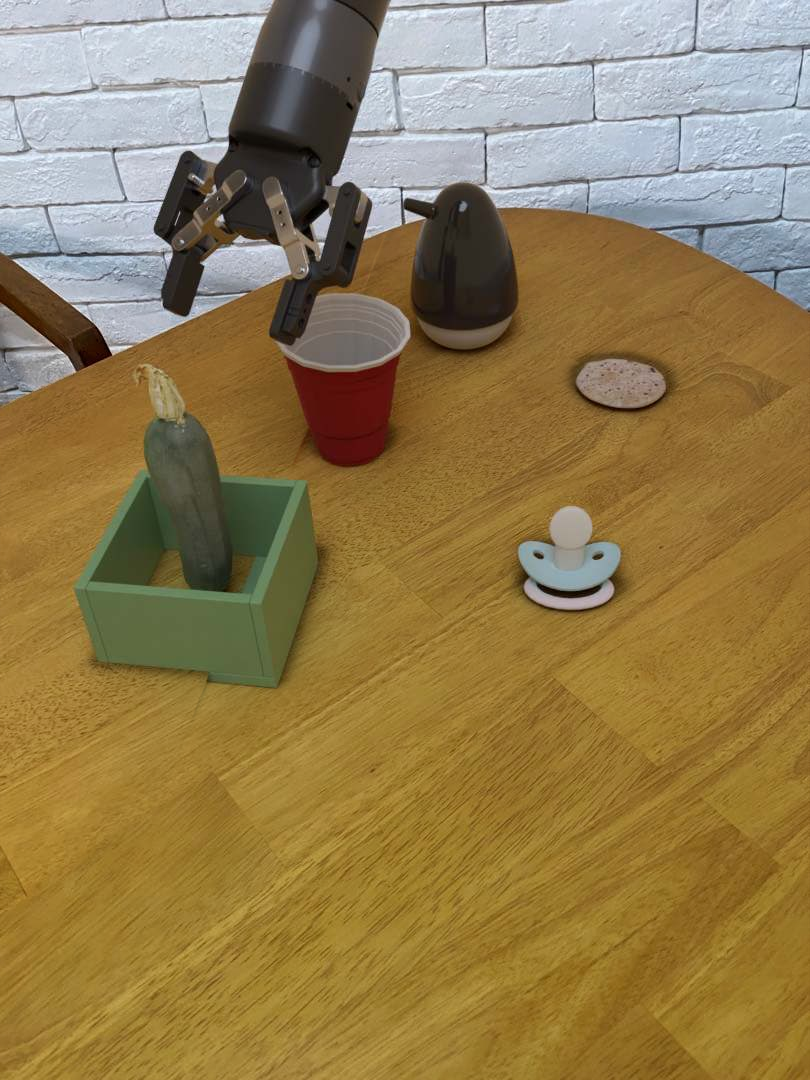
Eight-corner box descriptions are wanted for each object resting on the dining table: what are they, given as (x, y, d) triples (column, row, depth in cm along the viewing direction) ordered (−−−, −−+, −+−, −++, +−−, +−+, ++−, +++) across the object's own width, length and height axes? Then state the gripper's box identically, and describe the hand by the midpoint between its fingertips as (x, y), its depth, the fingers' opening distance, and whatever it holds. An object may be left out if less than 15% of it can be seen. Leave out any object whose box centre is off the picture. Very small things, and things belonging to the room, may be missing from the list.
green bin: (101, 671, 78) (72, 588, 73) (160, 551, 87) (139, 469, 82) (277, 688, 76) (261, 603, 71) (319, 563, 85) (307, 480, 80)
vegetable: (255, 591, 82) (209, 354, 69) (224, 630, 79) (169, 391, 66) (203, 575, 83) (149, 341, 70) (171, 614, 81) (108, 377, 67)
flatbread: (682, 385, 101) (683, 375, 100) (632, 423, 97) (633, 413, 96) (607, 354, 105) (607, 345, 104) (556, 389, 101) (557, 380, 100)
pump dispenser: (405, 314, 113) (396, 166, 103) (508, 304, 113) (509, 156, 103) (416, 369, 105) (407, 215, 95) (526, 357, 106) (529, 203, 96)
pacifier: (621, 616, 80) (616, 557, 84) (628, 552, 75) (623, 494, 80) (517, 614, 80) (517, 555, 85) (518, 550, 76) (519, 492, 80)
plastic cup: (372, 502, 91) (361, 375, 83) (265, 464, 95) (244, 340, 87) (440, 432, 97) (436, 308, 89) (337, 399, 102) (324, 279, 94)
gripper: (184, 44, 72) (105, 286, 72) (375, 72, 66) (289, 334, 67) (245, 100, 79) (173, 320, 79) (422, 129, 73) (344, 367, 73)
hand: (226, 327), depth 73 cm, fingers open, 8 cm apart
